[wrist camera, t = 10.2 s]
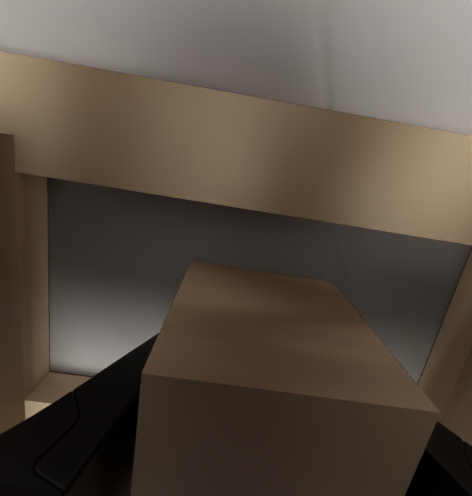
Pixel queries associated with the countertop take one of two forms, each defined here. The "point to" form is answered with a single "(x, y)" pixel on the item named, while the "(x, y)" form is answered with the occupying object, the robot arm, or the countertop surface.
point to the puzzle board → (213, 193)
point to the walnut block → (274, 394)
